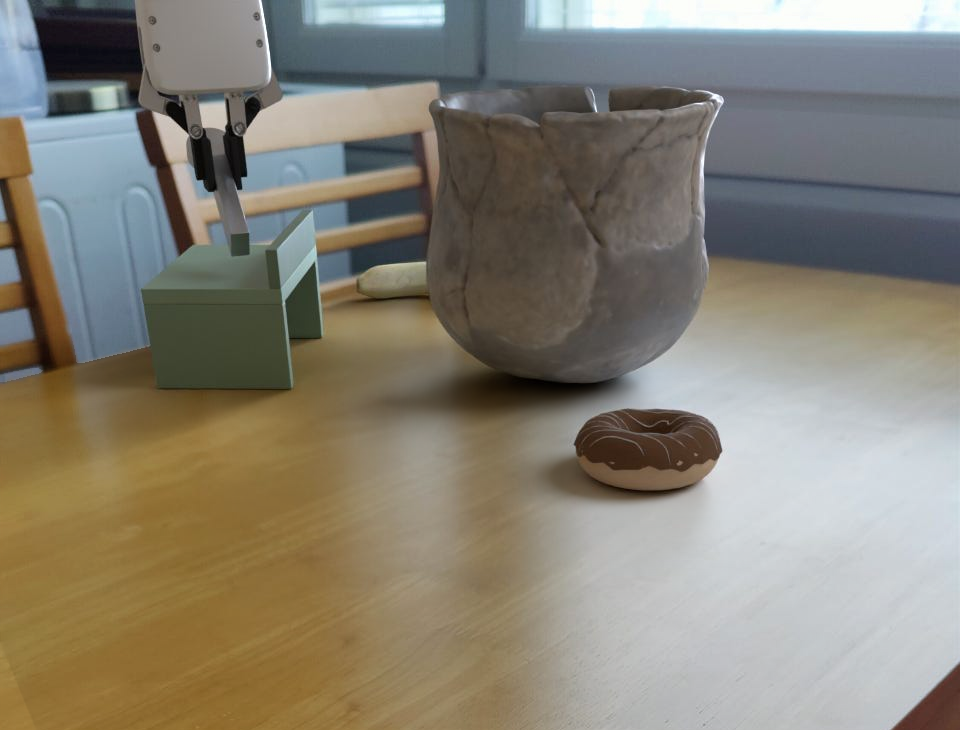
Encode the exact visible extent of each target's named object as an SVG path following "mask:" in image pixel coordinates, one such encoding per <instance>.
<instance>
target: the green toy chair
mask: <svg viewBox="0 0 960 730" xmlns="http://www.w3.org/2000/svg"><path fill="white" fill-rule="evenodd" d="M316 241H317V240H316V229H315V218H314V210H313V209H302V210H301V211H300V212H299V213H298V215H296V217H295V218H293V220H292V221H291V222H290V223H288V225H287V226H286V227H285V228H284V229H283V230H282V231H281V232H280V234H278V236H277V237H276V238H275V239H274V240H273V241H272V242H271V243H270V244H249V247H250V255H245V256H233V257H232V256H231V254H230V250H229V246H228V244H192V245H191V246H190V247H188V248H187V249H185V251H184V252H183V253H181V254H180V255H179V256H178V257H177V258H175V259H174V260H173V261H172V262H171V263H169V264H168V265H167V266H166V267H165V268H164V269H162V270H161V271H160V272H159V273H158V274H157V275H155V276H154V277H153V278H152V279H151V280H149V281H148V282H147V283H146V284H145V285H144V286H143V287H141V288H140V293H141V298H142V304H143V311H144V316H145V323H146V328H147V335H148V340H149V346H150V351H151V352H150V353H151V359H152V364H153V370H154V374H155V375H154V376H155V382H156V387H157V389H172V390H173V389H174V390H175V389H179V390H180V389H182V390H183V389H185V390H186V389H188V390H191V389H193V390H196V389H197V390H198V389H200V390H207V389H208V390H211V389H212V390H225V389H226V390H292V388H293V387H294V376H293V364H292V355H291V345H290V339H323V337H324V333H325V332H324V323H323V311H322V309H323V308H322V298H321V288H320V276H319V263H318V252H317V245H316V244H317V242H316Z"/></svg>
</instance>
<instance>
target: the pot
mask: <svg viewBox="0 0 960 730" xmlns="http://www.w3.org/2000/svg"><path fill="white" fill-rule="evenodd" d="M607 100H608V110H609V111H598V110H597V103H596V100H595V94H594V91H593V90H592V88H591V87H590V86H587V85H575V86H574V85H535V86H528V87H522V88H518V89H517V90H513V89H511V88H497V89H486V90H471V91H459V92H458V91H457V92H454V93H445V94H444V95H442V96H440V97H439V98H434V99H433V100H432V101H430V102H429V105H428V112H429V114H430V116H431V118H432V121H433V122H432V123H433V125H434V130H435V134H436V140H437V153H438V165H439V166H438V167H439V168H438V169H439V171H438V179H437V186H436V191H435V197H434V201H433V202H434V204H433V211H432V217H431V223H430V230H429V241H428V246H427V252H426V259H425V262H426V282H427V287H428V290H429V293H430V294H429V300H430V301H429V302H430V304H431V307H432V310H433V312H434V314H435V317H436V318H437V320H438V322H439V323H440V325H441V326H442V327H443V329H444V330H445V331H446V333H447V334H448V335H449V336H450V338H451V339H452V340H453V341H454V342H455V343H456V344H457V345H458V346H459V347H461V348H462V349H463V350H464V351H465V352H467V353H468V354H469V355H471V356H472V357H473V358H475V359H476V360H478V361H479V362H481V363H482V364H484V365H486V366H487V367H489V368H491V369H495V370H496V371H500V372H503V373H505V374H508V375H512V376H514V377H518V378H523V379H525V378H526V379H532V380H539V381H546V382H551V383H552V382H553V383H562V384H563V383H565V384H591V383H593V384H594V383H600V382H605V381H609V380H612V379H614V378H618V377H621V376H622V375H626V374H628V373H629V374H630V372H634V371H636V370H638V369H640V368H642V367H644V366H646V365H648V364H651V363H652V362H653V361H655V360H657V359H659V358H660V357H661V356H663V355H664V354H665V353H666V352H668V351H669V350H670V349H672V347H673V346H674V345H675V344H676V343H677V342H678V340H680V338H681V337H682V335H683V334H684V333H685V331H686V330H687V329H688V327H689V326H690V325H691V323H692V321H693V320H694V318H695V317H696V315H697V313H698V311H699V308H700V306H701V304H702V299H703V295H704V293H705V290H706V287H707V284H708V278H709V274H710V267H709V259H708V256H707V248H706V242H705V239H704V235H705V223H706V219H705V216H706V208H705V203H706V201H705V200H706V199H705V175H704V174H705V173H704V167H705V153H706V148H707V144H708V138H709V135H710V133H711V132H710V131H711V129H712V126H713V124H714V122H715V120H716V118H717V116H718V113H719V111H720V108H721V107H722V106H723V104H724V103H725V101H724V98H723V96H722V95H719V94H716V93H713V92H710V91H708V90H701V89H700V90H699V89H694V90H691V91H690V90H687V89H684V88H681V87H673V86H672V87H671V86H661V87H660V86H659V87H658V86H656V85H636V86H623V87H615V88H610V90H609V91H608V99H607Z"/></svg>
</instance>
